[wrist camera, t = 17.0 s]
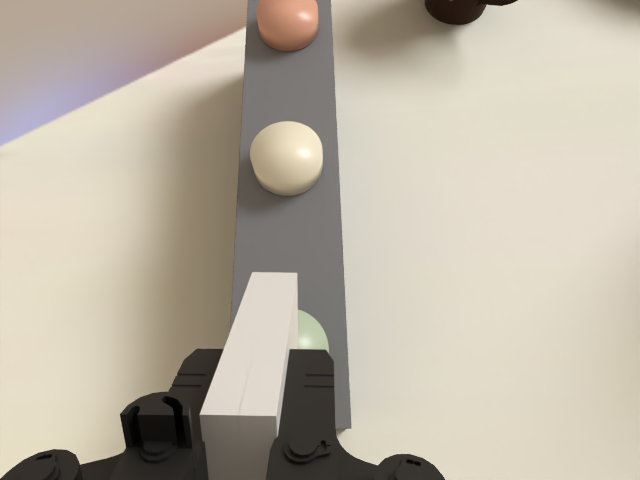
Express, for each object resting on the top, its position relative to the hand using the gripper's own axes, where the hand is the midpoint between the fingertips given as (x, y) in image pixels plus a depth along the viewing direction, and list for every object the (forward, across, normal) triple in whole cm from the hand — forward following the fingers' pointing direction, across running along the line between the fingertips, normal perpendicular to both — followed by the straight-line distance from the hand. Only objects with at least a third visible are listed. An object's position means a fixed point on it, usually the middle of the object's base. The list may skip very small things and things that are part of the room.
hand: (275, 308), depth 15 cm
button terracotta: (+28, -2, +9) cm, 29 cm away
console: (+24, -1, -4) cm, 24 cm away
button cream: (+19, -1, 0) cm, 19 cm away
